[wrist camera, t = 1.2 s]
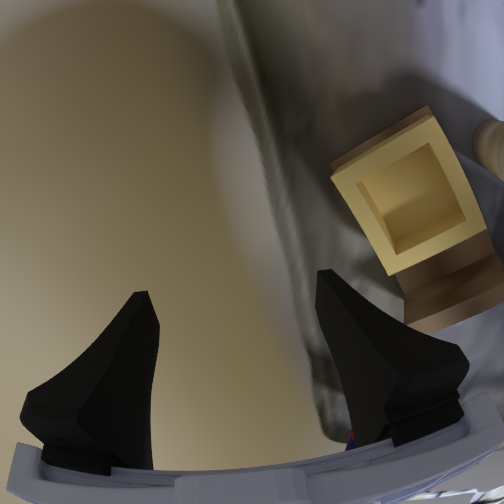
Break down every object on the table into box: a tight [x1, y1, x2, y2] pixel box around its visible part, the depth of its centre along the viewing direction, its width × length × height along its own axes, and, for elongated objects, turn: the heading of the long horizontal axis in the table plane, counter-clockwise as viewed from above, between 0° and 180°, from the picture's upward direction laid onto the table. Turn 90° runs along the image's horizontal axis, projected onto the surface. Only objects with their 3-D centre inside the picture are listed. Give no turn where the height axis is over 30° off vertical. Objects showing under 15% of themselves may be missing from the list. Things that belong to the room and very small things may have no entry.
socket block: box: [330, 115, 487, 276], centre depth 19 cm, size 8×8×4 cm
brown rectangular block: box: [329, 105, 504, 335], centre depth 19 cm, size 9×14×5 cm, turn 40°
